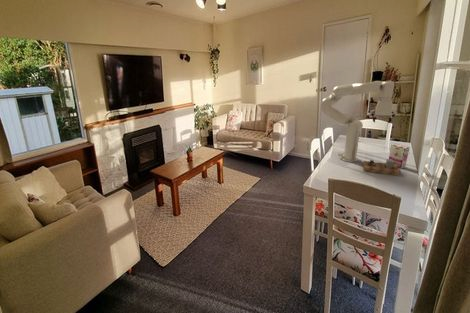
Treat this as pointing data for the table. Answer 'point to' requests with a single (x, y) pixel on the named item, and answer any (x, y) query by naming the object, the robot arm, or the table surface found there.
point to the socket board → (379, 168)
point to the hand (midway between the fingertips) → (381, 122)
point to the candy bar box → (399, 155)
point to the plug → (389, 164)
